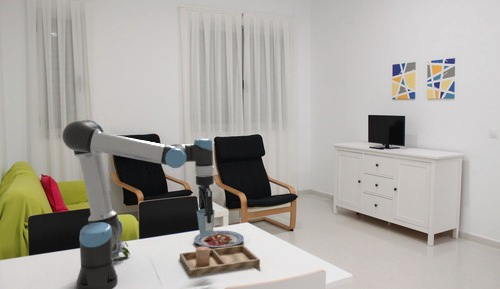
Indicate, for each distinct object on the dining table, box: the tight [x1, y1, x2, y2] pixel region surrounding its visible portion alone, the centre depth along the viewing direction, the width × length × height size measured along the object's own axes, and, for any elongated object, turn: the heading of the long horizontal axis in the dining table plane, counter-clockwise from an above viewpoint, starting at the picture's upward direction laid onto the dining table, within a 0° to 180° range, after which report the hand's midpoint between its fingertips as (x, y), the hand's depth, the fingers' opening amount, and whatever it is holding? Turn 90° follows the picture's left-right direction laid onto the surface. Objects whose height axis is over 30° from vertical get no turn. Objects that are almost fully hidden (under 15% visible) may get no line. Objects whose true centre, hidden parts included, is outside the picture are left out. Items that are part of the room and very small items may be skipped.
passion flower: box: [112, 239, 131, 260], centre depth 188 cm, size 11×11×12 cm
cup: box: [196, 209, 216, 237], centre depth 175 cm, size 8×8×10 cm
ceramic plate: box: [193, 230, 245, 248], centre depth 212 cm, size 26×26×3 cm
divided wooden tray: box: [179, 244, 261, 277], centre depth 182 cm, size 31×20×4 cm, turn 112°
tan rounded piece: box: [195, 245, 211, 267], centre depth 179 cm, size 6×6×7 cm
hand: (206, 227), depth 175 cm, fingers closed on cup, 8 cm apart
